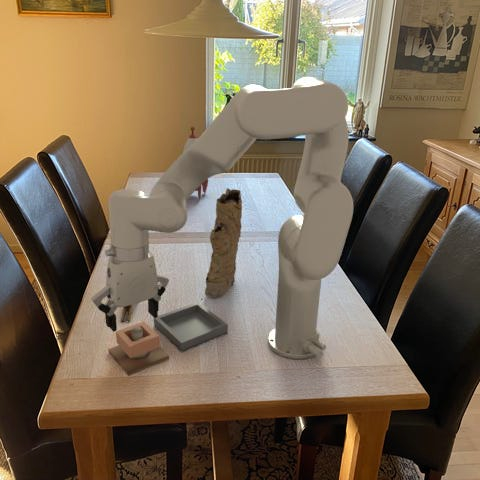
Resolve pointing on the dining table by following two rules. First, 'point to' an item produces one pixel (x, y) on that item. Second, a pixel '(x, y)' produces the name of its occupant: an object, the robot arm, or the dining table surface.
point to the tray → (190, 326)
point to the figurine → (125, 309)
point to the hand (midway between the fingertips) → (133, 321)
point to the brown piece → (139, 361)
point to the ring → (138, 346)
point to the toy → (189, 142)
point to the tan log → (224, 243)
